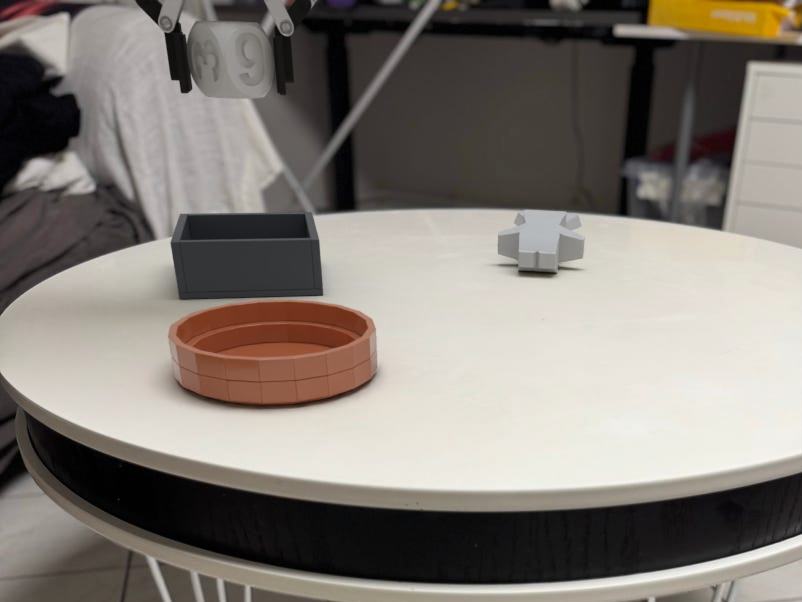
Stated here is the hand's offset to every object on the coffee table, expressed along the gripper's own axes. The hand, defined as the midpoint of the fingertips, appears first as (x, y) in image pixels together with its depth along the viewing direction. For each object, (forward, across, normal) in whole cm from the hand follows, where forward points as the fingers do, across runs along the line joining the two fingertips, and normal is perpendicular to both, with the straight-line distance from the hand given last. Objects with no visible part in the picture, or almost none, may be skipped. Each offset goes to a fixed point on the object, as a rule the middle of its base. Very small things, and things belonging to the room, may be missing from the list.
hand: (234, 90), depth 74 cm
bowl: (+17, +2, -17) cm, 25 cm away
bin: (+17, -1, +12) cm, 21 cm away
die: (+1, 0, 0) cm, 1 cm away
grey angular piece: (+17, +31, +17) cm, 40 cm away
